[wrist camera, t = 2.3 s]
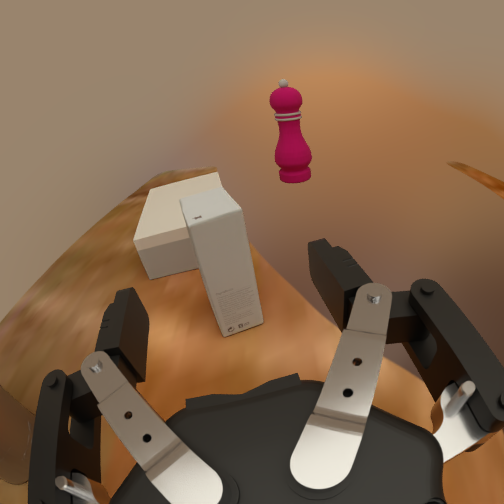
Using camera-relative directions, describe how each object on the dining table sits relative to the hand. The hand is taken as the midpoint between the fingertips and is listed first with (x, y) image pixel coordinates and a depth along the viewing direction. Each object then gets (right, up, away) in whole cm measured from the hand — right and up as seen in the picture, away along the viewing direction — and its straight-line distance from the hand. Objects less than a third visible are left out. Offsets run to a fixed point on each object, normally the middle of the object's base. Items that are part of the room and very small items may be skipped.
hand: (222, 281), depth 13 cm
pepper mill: (+10, +16, +45) cm, 48 cm away
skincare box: (0, -5, +17) cm, 17 cm away
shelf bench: (-8, +4, +31) cm, 32 cm away
